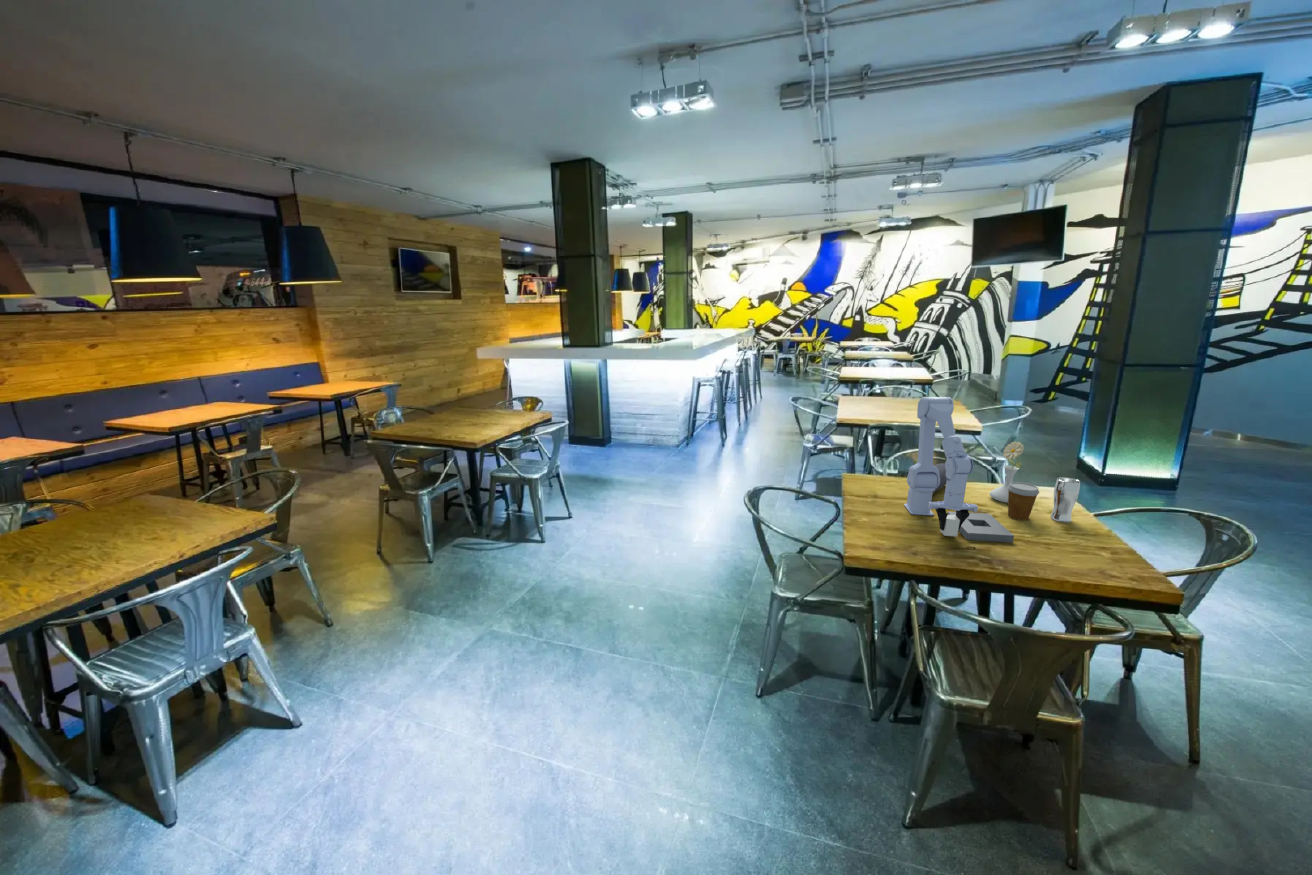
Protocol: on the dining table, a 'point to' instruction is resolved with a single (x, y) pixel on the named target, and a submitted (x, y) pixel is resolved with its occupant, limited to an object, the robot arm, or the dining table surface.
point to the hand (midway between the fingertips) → (949, 529)
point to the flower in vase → (1008, 471)
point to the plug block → (951, 526)
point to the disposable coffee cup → (1021, 500)
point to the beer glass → (1065, 498)
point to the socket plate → (984, 528)
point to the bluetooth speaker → (941, 475)
